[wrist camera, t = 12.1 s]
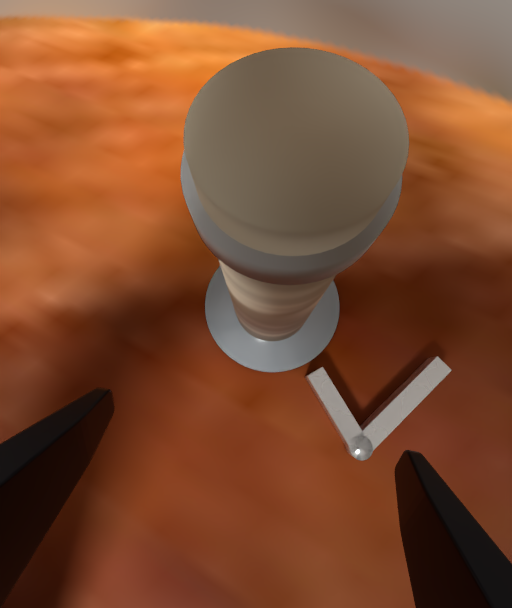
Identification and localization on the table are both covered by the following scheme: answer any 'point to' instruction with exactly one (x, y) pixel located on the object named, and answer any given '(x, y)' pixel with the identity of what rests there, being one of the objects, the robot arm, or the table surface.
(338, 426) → the bent rod
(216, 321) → the coaster
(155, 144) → the table surface
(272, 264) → the ringed post
